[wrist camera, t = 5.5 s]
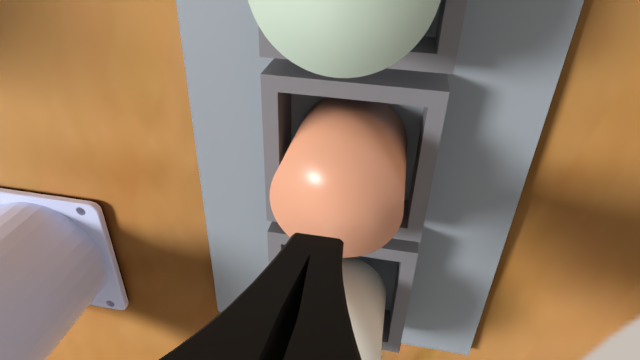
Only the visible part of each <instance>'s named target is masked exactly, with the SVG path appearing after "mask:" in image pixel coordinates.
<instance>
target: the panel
mask: <svg viewBox="0 0 640 360" xmlns="http://www.w3.org/2000/svg"><path fill="white" fill-rule="evenodd" d="M583 3H584V0H441V1H440V4H439V7H438V10H437V12H436V15H435V17H434V19H433V21H432V23H431V25H430V27H429V29H428V30H427V32H426V33H425V35H424V36H423V38H422V39H421V40H420V41H419V42H418V44H417V45H416V46H415V47H414V48H413V49H412V50H411V51H410V52H409V53H408V54H407V55H405V56H404V57H403V58H402V59H400V60H399V61H397V62H396V63H395V64H393V65H391V66H389V67H387V68H385V69H384V70H381V71H379V72H376V73H373V74H370V75H366V76H362V77H355V78H333V77H327V76H322V75H319V74H315V73H312V72H310V71H308V70H305V69H303V68H301V67H299V66H298V65H296V64H294V63H293V62H291V61H290V60H288V59H287V58H286V57H284V56H283V55H282V54H281V53H280V52H279V51H278V50H277V49H276V48H275V47H274V46H273V45H272V44H271V43H270V42H269V40H268V39H267V38H266V37H265V35H264V34H263V32H262V30H261V29H260V27H259V26H258V24H257V22H256V20H255V18H254V16H253V13H252V11H251V8H250V5H249V2H248V0H176V5H177V13H178V20H179V27H180V35H181V42H182V49H183V57H184V64H185V72H186V79H187V86H188V94H189V101H190V108H191V116H192V123H193V131H194V138H195V145H196V153H197V160H198V167H199V175H200V182H201V189H202V197H203V204H204V212H205V219H206V226H207V234H208V241H209V248H210V256H211V263H212V271H213V278H214V285H215V293H216V300H217V307H218V312H222V311H223V310H224V309H226V308H227V307H228V306H229V305H230V304H231V303H232V302H233V301H234V300H235V299H236V298H237V297H238V296H239V295H240V294H241V293H242V292H243V291H244V290H245V289H246V288H247V287H248V286H249V285H250V284H251V283H252V282H253V281H254V280H255V279H256V278H257V277H258V276H259V275H260V274H261V273H262V271H263V270H264V269H265V268H266V267H267V266H268V265H269V264H270V262H271V261H272V260H273V259H274V258H275V257H276V255H277V254H278V253H279V252H280V250H281V249H282V248H283V247H284V245H285V244H286V243H287V241H288V240H289V239H290V237H289V236H288V235H287V234H286V233H285V232H284V231H283V230H282V228H281V227H280V226H279V224H278V222H277V221H276V219H275V217H274V215H273V212H272V209H271V205H270V187H271V182H272V180H273V177H274V175H275V173H276V171H277V169H278V167H279V165H280V163H281V161H282V160H283V158H284V156H285V154H286V152H287V150H288V148H289V146H290V144H291V142H292V140H293V138H294V136H295V134H296V133H297V131H298V129H299V127H300V125H301V123H302V121H303V119H304V117H305V115H306V114H307V112H308V111H309V110H310V109H311V108H312V107H313V106H314V105H315V104H316V103H317V102H319V101H320V100H322V99H324V98H326V97H331V98H341V99H351V100H361V101H371V102H381V103H386V104H387V105H388V106H390V107H391V108H392V109H393V110H394V111H395V112H396V114H397V115H398V116H399V117H400V119H401V121H402V123H403V125H404V127H405V130H406V134H407V142H408V145H407V162H406V179H405V196H404V212H403V218H402V222H401V225H400V227H399V229H398V231H397V232H396V234H395V235H394V237H393V238H392V239H391V240H390V241H389V242H388V243H387V244H385V245H384V246H383V247H381V248H380V249H378V250H376V251H374V252H372V253H369V254H366V255H362V256H358V257H355V258H357V259H359V260H361V261H363V262H365V263H367V264H368V265H370V266H371V267H372V268H373V269H374V270H375V271H376V272H377V273H378V274H379V275H380V277H381V278H382V280H383V282H384V284H385V287H386V302H385V314H384V325H383V336H382V347H381V350H387V351H392V352H398V353H399V350H400V345H401V344H407V345H413V346H419V347H424V348H430V349H436V350H442V351H447V352H453V353H459V354H464V355H469V352H470V349H471V346H472V342H473V339H474V336H475V333H476V330H477V327H478V324H479V321H480V318H481V315H482V312H483V309H484V306H485V303H486V300H487V297H488V294H489V290H490V287H491V284H492V281H493V278H494V275H495V272H496V269H497V266H498V263H499V260H500V257H501V254H502V251H503V248H504V245H505V241H506V238H507V235H508V232H509V229H510V226H511V223H512V220H513V217H514V214H515V211H516V208H517V205H518V202H519V199H520V196H521V193H522V189H523V186H524V183H525V180H526V177H527V174H528V171H529V168H530V165H531V162H532V159H533V156H534V153H535V150H536V147H537V144H538V140H539V137H540V134H541V131H542V128H543V125H544V122H545V119H546V116H547V113H548V110H549V107H550V104H551V101H552V98H553V95H554V92H555V88H556V85H557V82H558V79H559V76H560V73H561V70H562V67H563V64H564V61H565V58H566V55H567V52H568V49H569V46H570V43H571V39H572V36H573V33H574V30H575V27H576V24H577V21H578V18H579V15H580V12H581V9H582V6H583Z"/></svg>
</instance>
